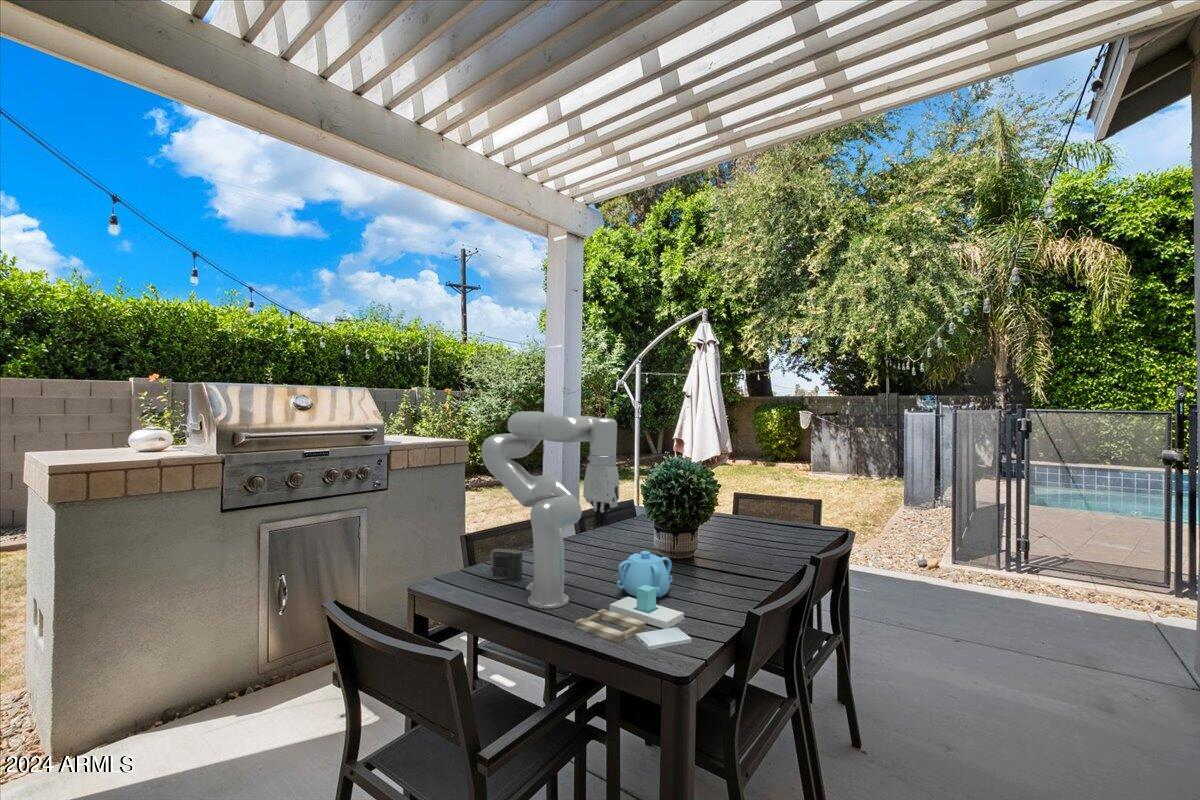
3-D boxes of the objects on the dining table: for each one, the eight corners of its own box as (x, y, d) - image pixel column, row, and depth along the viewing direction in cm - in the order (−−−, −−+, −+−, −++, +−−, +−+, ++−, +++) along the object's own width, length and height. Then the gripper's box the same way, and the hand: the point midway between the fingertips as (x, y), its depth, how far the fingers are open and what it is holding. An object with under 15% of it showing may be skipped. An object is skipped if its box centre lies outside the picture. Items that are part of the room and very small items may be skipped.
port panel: (609, 611, 163) (609, 604, 163) (627, 603, 170) (627, 596, 170) (666, 629, 150) (666, 622, 150) (684, 619, 157) (684, 612, 157)
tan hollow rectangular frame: (575, 627, 151) (575, 621, 151) (603, 615, 160) (603, 608, 160) (618, 643, 141) (618, 636, 141) (645, 628, 150) (645, 622, 150)
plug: (636, 615, 160) (636, 588, 160) (644, 612, 163) (644, 584, 163) (647, 619, 157) (648, 591, 157) (655, 615, 160) (656, 587, 160)
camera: (524, 578, 193) (524, 549, 193) (517, 583, 188) (518, 553, 188) (494, 575, 196) (495, 547, 197) (487, 580, 191) (487, 551, 191)
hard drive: (676, 626, 150) (634, 632, 145) (692, 638, 142) (648, 645, 137) (676, 632, 150) (634, 638, 145) (692, 644, 142) (648, 652, 137)
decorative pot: (610, 596, 176) (610, 553, 176) (634, 582, 190) (634, 542, 190) (656, 606, 167) (656, 561, 167) (678, 591, 181) (678, 549, 181)
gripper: (574, 459, 160) (572, 523, 160) (615, 465, 150) (613, 532, 150) (590, 457, 165) (589, 519, 166) (631, 462, 156) (629, 527, 156)
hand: (600, 525), depth 158 cm, fingers closed
